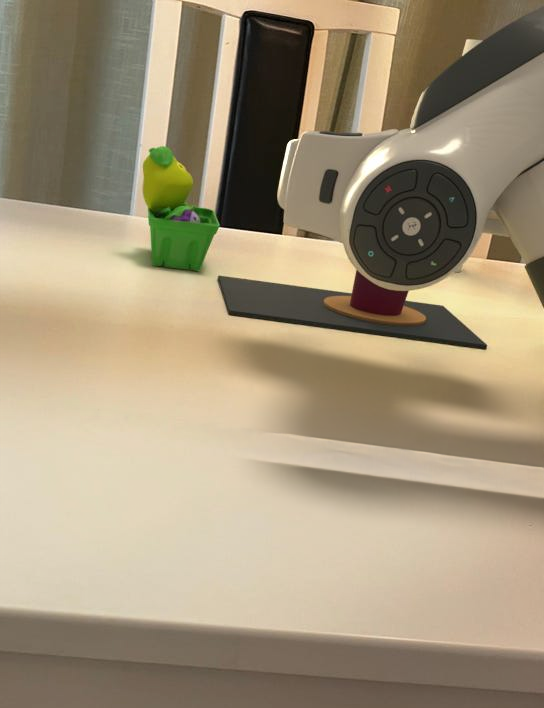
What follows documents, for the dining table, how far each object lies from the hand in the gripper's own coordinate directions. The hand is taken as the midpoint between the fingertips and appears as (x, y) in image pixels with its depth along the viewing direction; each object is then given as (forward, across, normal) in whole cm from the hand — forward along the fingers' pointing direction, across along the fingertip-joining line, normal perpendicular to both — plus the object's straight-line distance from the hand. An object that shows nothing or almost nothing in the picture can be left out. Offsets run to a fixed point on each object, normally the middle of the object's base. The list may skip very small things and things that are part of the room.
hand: (411, 180), depth 83 cm
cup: (+12, 0, +13) cm, 17 cm away
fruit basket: (+22, +23, +14) cm, 35 cm away
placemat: (+11, +3, +13) cm, 18 cm away
